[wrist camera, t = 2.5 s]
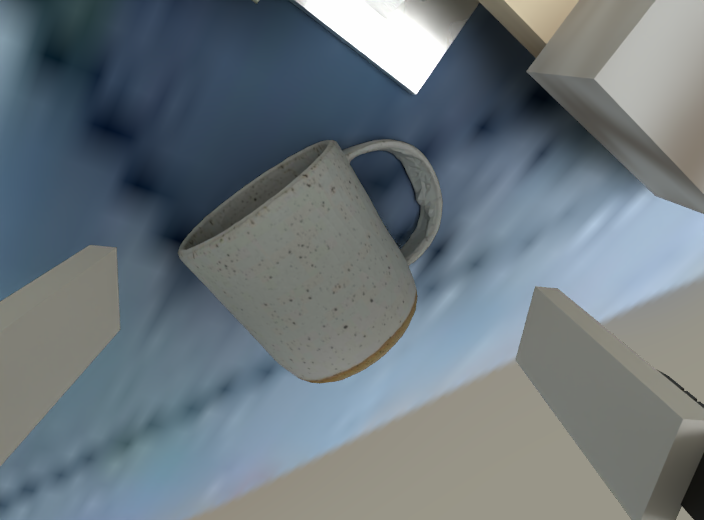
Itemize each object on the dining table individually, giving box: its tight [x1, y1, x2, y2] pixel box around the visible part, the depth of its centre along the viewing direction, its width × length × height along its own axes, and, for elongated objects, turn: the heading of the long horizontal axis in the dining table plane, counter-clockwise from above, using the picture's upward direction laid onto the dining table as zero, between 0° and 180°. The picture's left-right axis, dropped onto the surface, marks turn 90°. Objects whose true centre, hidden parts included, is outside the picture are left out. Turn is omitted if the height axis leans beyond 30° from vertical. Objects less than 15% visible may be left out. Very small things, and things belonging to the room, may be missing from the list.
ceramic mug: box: [178, 139, 443, 383], centre depth 20 cm, size 11×8×8 cm
